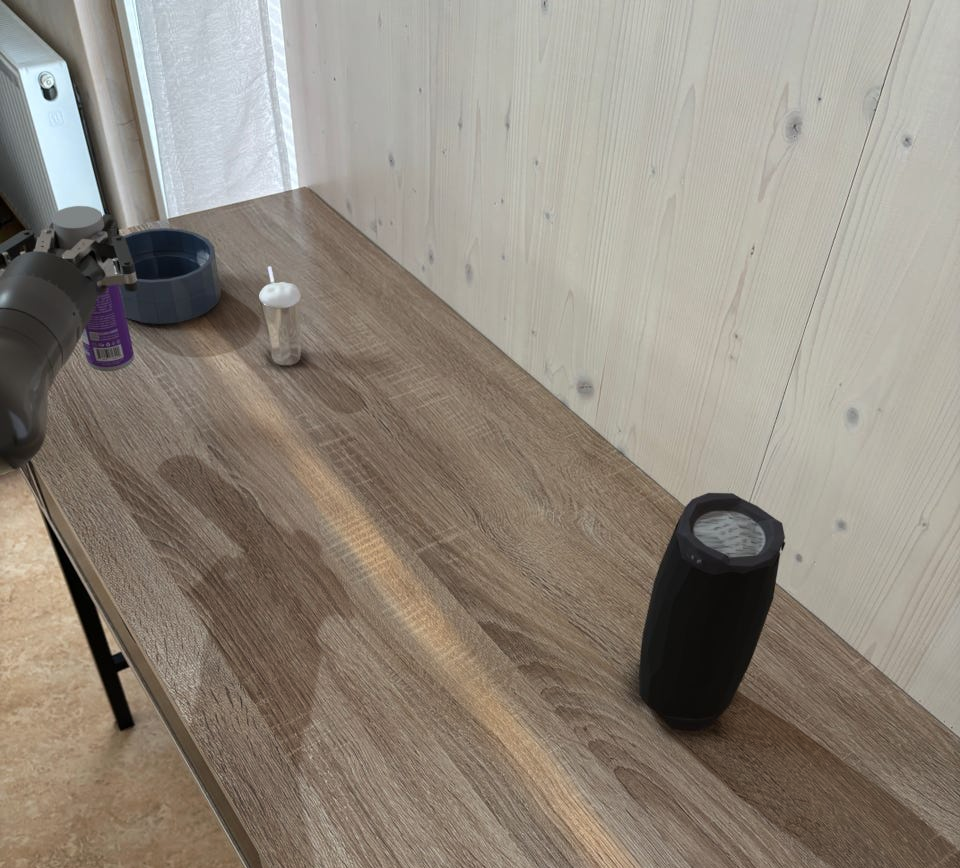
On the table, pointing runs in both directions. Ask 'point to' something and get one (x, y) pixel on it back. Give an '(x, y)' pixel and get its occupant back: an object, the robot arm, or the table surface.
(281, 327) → the milkshake
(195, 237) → the bowl
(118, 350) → the container
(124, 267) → the robot arm
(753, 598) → the portable speaker
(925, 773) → the table surface
